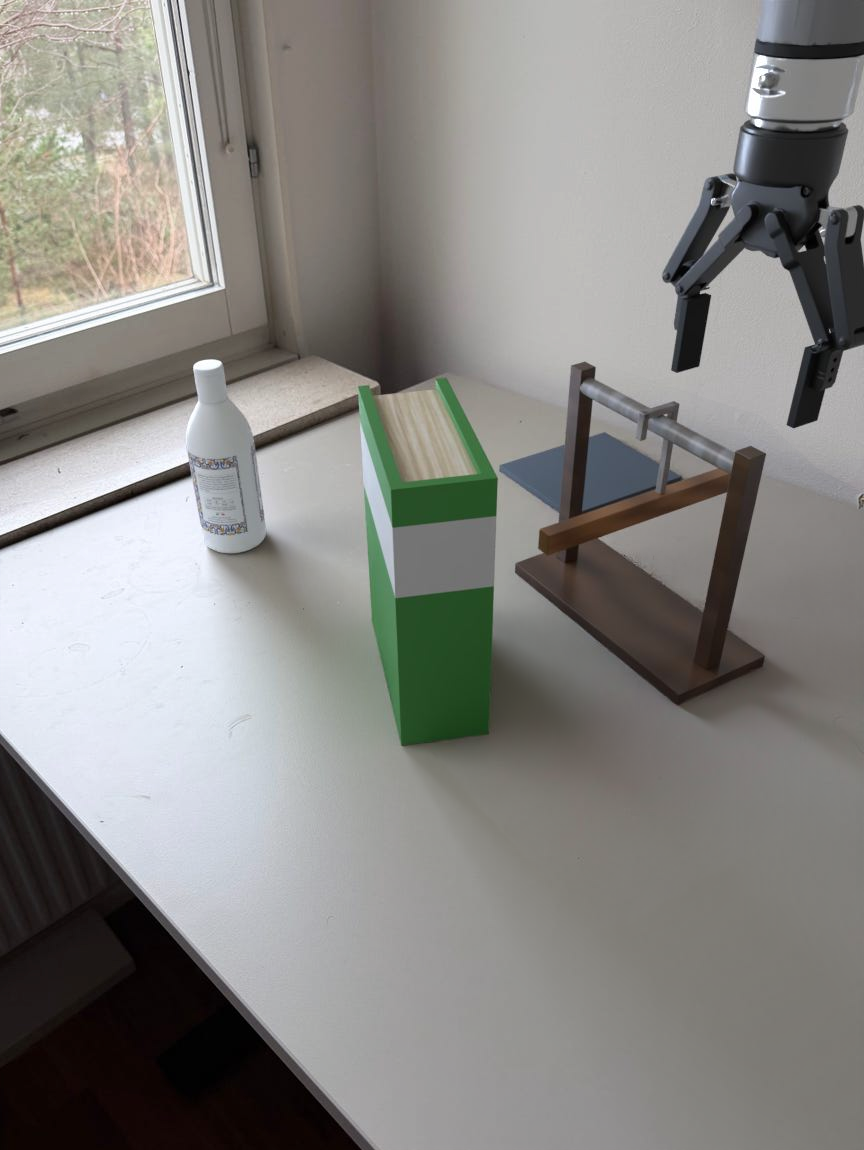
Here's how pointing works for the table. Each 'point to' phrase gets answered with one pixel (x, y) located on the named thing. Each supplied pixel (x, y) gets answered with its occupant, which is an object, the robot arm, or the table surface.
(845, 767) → the table surface
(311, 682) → the table surface
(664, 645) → the rail stand
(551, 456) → the mat
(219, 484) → the bath foam
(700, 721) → the table surface
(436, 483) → the hardback book
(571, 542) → the hanger
